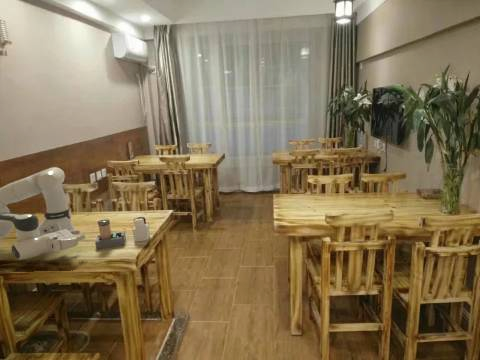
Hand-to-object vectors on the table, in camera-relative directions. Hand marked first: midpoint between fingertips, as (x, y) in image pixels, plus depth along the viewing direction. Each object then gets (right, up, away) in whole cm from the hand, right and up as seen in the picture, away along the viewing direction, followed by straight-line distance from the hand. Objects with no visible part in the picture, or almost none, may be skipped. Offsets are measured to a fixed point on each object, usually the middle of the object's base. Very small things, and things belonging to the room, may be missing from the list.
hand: (82, 233), depth 177 cm
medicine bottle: (+27, -5, +13) cm, 30 cm away
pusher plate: (+14, -5, +10) cm, 18 cm away
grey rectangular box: (+12, -7, +10) cm, 16 cm away
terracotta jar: (+9, -6, +9) cm, 14 cm away
